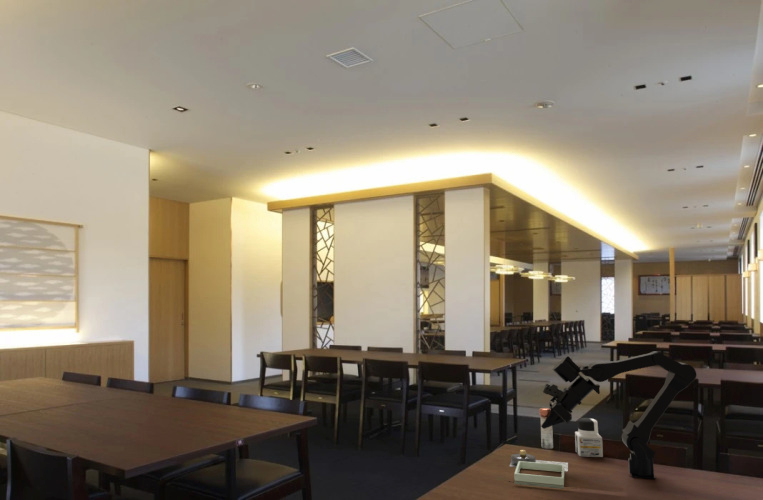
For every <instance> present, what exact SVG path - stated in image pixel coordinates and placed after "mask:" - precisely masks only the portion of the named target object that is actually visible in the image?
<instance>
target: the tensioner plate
mask: <svg viewBox="0 0 763 500" xmlns="http://www.w3.org/2000/svg"><path fill="white" fill-rule="evenodd" d="M518 461H524V462H536V463H548V464H559V465H564V472H568V471H569V462H563V461H552V460H540V459H537V458H536V456H535V455H532V454H528V453H527V450H526V449H520V450H519V453H513V454H511V455H510V463H509V467H512V468H513V467H514V468H516V467H517V464H518Z"/></svg>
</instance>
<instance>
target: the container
mask: <svg viewBox="0 0 763 500" xmlns="http://www.w3.org/2000/svg"><path fill="white" fill-rule="evenodd" d="M598 425H599V424H598V420H597V419H594V418H591V417H581V418H578V419H577V429H578V430H577V431H574V439H575V440H574V443H575V453H576V454H577V455H578V456H579V457H583V458H586V457H587V458H588V457H590V458H603V457H604V453H603V452H604V450H603V437H602V436H601V435H600V434H599V426H598Z"/></svg>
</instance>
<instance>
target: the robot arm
mask: <svg viewBox="0 0 763 500" xmlns="http://www.w3.org/2000/svg"><path fill="white" fill-rule="evenodd" d="M655 366H658V367H660V368H662V369H663V370H665V371H667V374H666V377H665V379H664V384H663V385H662V387H661V389H659V391H658V393H657V394H656V395H655V397H654V398H653V400H652V401H651V402H650V404H649V405H648V406H647V407H646V409H645V411H644V412H643V413H642V415H641V416H640V418H639V419H638V420H637V421H634V422H633V421H631V420H628V422H627V424H626V426H625V427H624V428H623V429H621V431H622V434H621V439H622V441H621V442H623V444H624V445H625V446H626V447H627V449H629V451H630V453H629V457H628V459H627V460H628V472H629V474H631V475H630V476H631V477H632V478H638V479H639V478H640V479H650V480H655V479H656V476H655V468H654V457H655V451H654V450H653V449H652V448H651V447H650V446H649V445H648V443H649V441H650V439H651V434H652V430H653V428H654V427H655V426H656V424H657V423H658V422H659V421H660V418H661V417H662V416H663V414H664V413H665V412H666V411H667V409H668V408H669V406H670V405H671V403H672V402H673V401H674V399H676V396H677V395H678V394H679V393H680V392H682V391H683V390H685V389H686V388H688V387H689V386H690V385H691V384H692V383H693V382H694V381H695V380H696V379H697V377H698V376H697V375H698V374H697V371H696V369H695V368H694V367H693V366H692V365H691V364H688V363H684V362H679V361H677V360H675V359H672V358H671V357H668V356H667V355H664V353H662V352H660V351H655V350H654V351H651V352H649V353H644V354H640V355H636V356H632V357H627V358H623V359H618V360H613V361H605V360H604V361H594V362H591V363H589V364H588V365H584V366H579V365H577V364H576V363H575V361H573V359H572V358H571V357H570V356H568V355H566V356H565V357H564V358H563V359H561V360H560V361H558V362H557V363H556V364H554V367H553V368H552V371H553V372H554V373H555V374H556V375H558V377H560V378H561V380H562V381H564V382H565V383H567V382H569V383H571V384H570V385H569V386H568V387H564V388H563V389H562V388H561V387H560V388H559V386H558V385H556V384H554V383H550V382H547V381H546V382H545V384H544V387H543V389H542V392H543V393H544V394H545V395H549V396H551V397H550V398H549V403H548V404H549V409H550V414H549V416H548V417H547V418H546V420H545V421H544V423H543V424H542V425H541V424H540V428H541V427H542V428H543V429H544V428H547V427H550V426H552V427H553V426H555V425H558V424H562V423H566V424H568V423H570V422H571V421H572V419H573V415H572V413H573V410H574V409H575V408H576V407H578V405H581V404H582V402H583V401H584V400H585V399H586V398H587V397H588V396H589V395H590V393H592V392H593V391H594V392H595V393H596V394H598V395H600V394H601V392H600V387H601V385H600V384H599V383H603V382H605V381H608V380H610V379H612V378H614V377H616V376H618V375H619V374H623V373H628V372H633V371H637V370H641V369H646V368H648V367H655ZM580 373H581V374H582V375H584V376H585V377H586V378H585V377H584V376H582V375H581V374H580ZM589 377H590V378H591V379H592V380H591V379H590V378H589ZM593 381H595V382H597V383H594V382H593Z"/></svg>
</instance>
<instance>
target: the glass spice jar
mask: <svg viewBox="0 0 763 500" xmlns="http://www.w3.org/2000/svg"><path fill="white" fill-rule="evenodd" d="M538 411H539V417H540V439H541V440H540V441H541V448H542V449H553V448H554V438H553V432H554V431H553V426H550V427H547V428H544V429H543V428H542V427H541V425H542V424H543V423H544V421H545V420H546V418H547V417H548V416H549V414H550V408H548V407H540V408H539V409H538Z"/></svg>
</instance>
